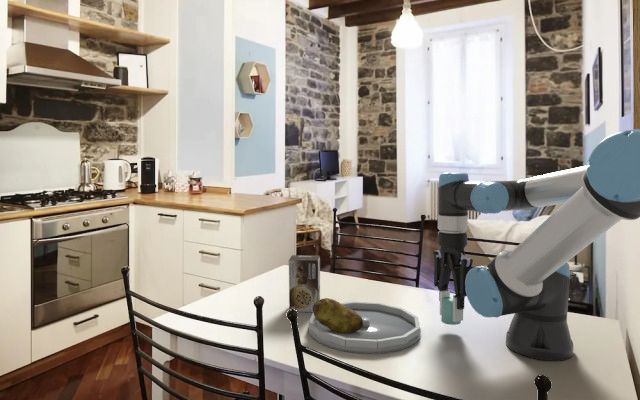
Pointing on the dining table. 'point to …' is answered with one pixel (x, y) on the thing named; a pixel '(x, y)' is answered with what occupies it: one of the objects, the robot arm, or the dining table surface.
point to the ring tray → (371, 330)
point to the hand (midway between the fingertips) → (451, 317)
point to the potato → (337, 316)
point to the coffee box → (304, 282)
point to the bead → (448, 311)
